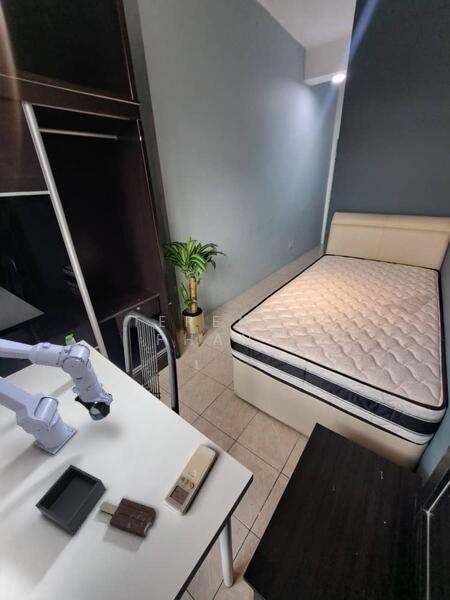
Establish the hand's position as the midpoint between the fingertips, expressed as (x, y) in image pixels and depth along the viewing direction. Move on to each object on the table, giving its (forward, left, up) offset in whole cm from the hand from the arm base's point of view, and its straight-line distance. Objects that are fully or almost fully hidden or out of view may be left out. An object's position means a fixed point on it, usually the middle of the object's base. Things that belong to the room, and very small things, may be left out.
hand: (99, 411), depth 80 cm
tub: (+8, -19, -8) cm, 23 cm away
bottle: (-29, +16, -9) cm, 34 cm away
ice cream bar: (+23, -17, -9) cm, 30 cm away
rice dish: (0, 0, -1) cm, 1 cm away
